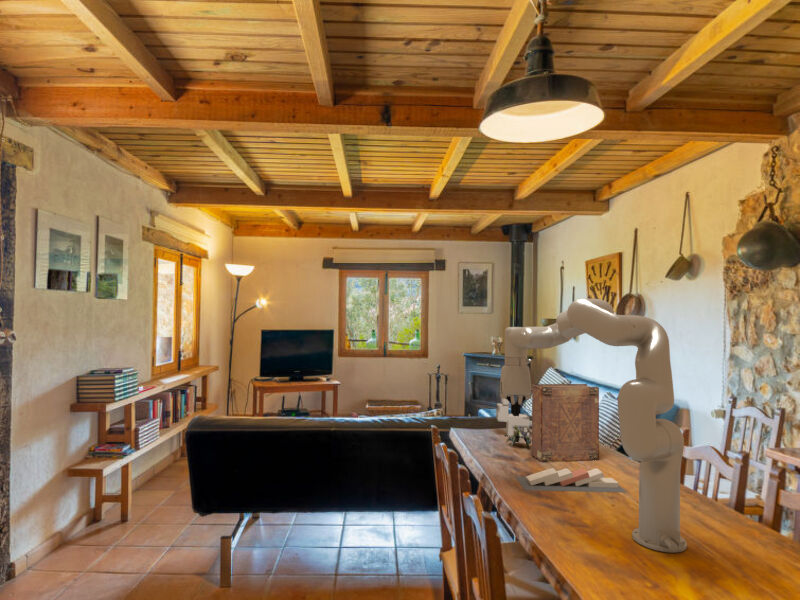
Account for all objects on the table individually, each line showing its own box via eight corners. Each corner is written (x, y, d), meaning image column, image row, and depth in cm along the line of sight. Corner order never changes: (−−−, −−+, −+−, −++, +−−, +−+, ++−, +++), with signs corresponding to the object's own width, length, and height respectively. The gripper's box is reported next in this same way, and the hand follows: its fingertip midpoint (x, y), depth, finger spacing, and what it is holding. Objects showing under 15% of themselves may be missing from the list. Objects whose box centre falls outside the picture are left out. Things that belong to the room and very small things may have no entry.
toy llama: (534, 438, 237) (535, 396, 238) (497, 437, 239) (498, 395, 239) (531, 434, 244) (532, 394, 245) (496, 433, 246) (496, 393, 247)
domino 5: (588, 486, 168) (618, 487, 168) (588, 482, 168) (618, 482, 168) (583, 481, 173) (612, 482, 173) (583, 477, 173) (612, 478, 173)
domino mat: (627, 494, 164) (627, 492, 164) (524, 492, 163) (524, 490, 164) (609, 480, 178) (609, 478, 178) (515, 478, 177) (515, 476, 178)
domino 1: (531, 485, 168) (559, 476, 168) (529, 481, 168) (557, 472, 168) (527, 480, 173) (554, 472, 173) (525, 476, 173) (552, 467, 173)
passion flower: (527, 459, 220) (538, 441, 214) (504, 455, 219) (514, 437, 213) (522, 440, 230) (532, 422, 223) (500, 436, 228) (509, 418, 222)
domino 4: (576, 486, 168) (604, 477, 168) (574, 481, 168) (602, 472, 168) (571, 481, 173) (598, 472, 173) (569, 477, 173) (596, 468, 173)
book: (586, 454, 211) (587, 383, 212) (599, 460, 202) (599, 386, 203) (531, 456, 207) (532, 384, 208) (541, 462, 198) (542, 387, 199)
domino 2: (545, 486, 168) (573, 477, 168) (544, 481, 168) (571, 472, 168) (541, 481, 173) (567, 472, 173) (539, 476, 173) (566, 468, 173)
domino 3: (561, 486, 168) (589, 477, 168) (560, 481, 168) (588, 472, 168) (557, 481, 173) (584, 472, 173) (555, 477, 173) (582, 468, 173)
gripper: (534, 361, 176) (534, 413, 175) (492, 361, 176) (492, 413, 175) (540, 363, 168) (540, 418, 167) (496, 363, 168) (496, 417, 167)
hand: (515, 415), depth 171 cm, fingers closed
